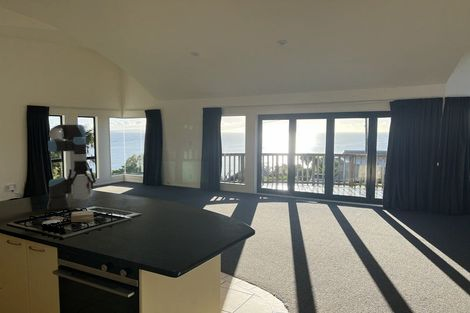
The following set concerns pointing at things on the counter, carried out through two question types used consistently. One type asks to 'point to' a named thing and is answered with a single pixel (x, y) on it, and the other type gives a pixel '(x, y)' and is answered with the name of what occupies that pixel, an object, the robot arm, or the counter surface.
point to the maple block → (82, 216)
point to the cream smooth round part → (51, 221)
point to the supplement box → (81, 187)
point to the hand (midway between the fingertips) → (81, 193)
